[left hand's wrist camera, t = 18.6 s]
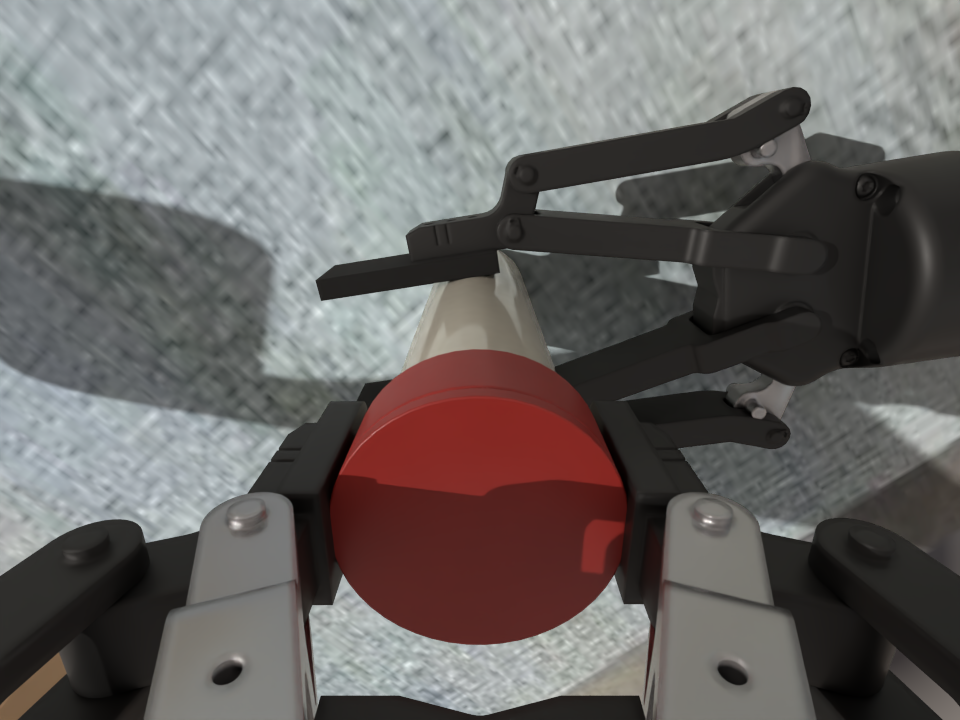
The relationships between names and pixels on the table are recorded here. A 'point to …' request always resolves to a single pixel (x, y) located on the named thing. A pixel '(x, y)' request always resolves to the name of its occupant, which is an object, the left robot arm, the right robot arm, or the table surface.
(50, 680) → the squash
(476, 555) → the lid
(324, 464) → the left robot arm
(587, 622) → the table surface
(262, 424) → the table surface
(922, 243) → the right robot arm
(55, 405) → the table surface
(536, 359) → the slim white bottle
